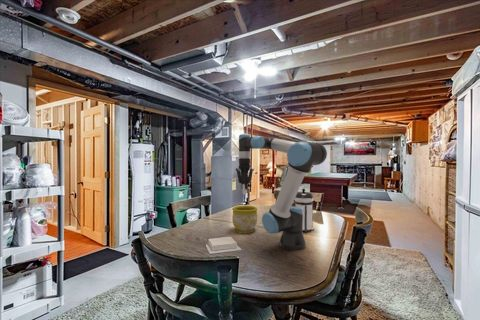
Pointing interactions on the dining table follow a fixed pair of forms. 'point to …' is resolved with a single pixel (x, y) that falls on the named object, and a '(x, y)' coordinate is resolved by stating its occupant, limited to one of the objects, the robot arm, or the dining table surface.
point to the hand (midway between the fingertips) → (244, 193)
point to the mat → (222, 250)
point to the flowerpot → (244, 218)
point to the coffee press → (305, 208)
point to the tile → (222, 243)
